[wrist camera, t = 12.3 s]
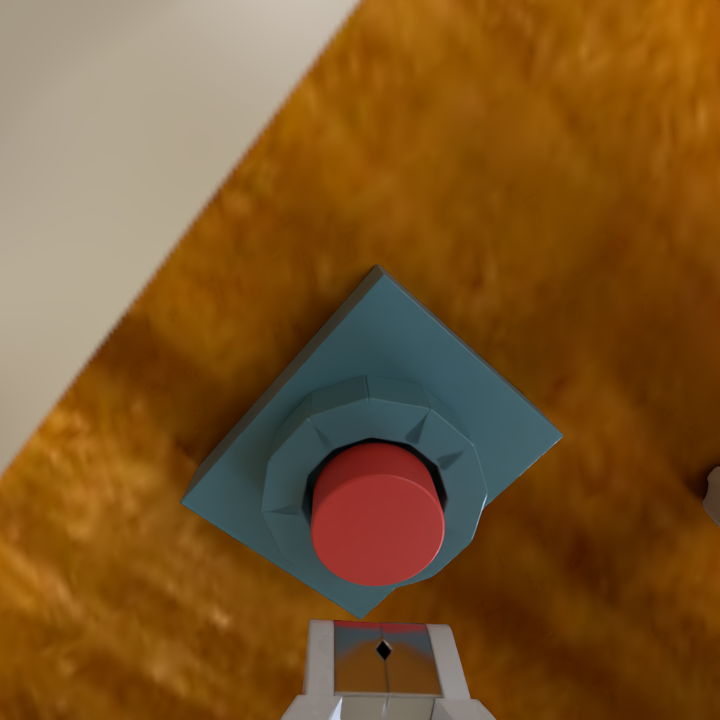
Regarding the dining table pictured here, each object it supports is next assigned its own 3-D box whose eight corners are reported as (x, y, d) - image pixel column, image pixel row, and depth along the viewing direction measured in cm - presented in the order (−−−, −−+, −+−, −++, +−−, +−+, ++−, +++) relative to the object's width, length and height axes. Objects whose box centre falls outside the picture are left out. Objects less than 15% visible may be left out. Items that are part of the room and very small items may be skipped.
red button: (377, 563, 15) (382, 608, 13) (288, 501, 14) (282, 541, 13) (457, 488, 14) (473, 526, 13) (369, 418, 13) (373, 449, 12)
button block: (358, 575, 20) (363, 665, 16) (197, 467, 18) (159, 540, 14) (537, 407, 18) (592, 465, 14) (377, 263, 16) (390, 284, 12)
